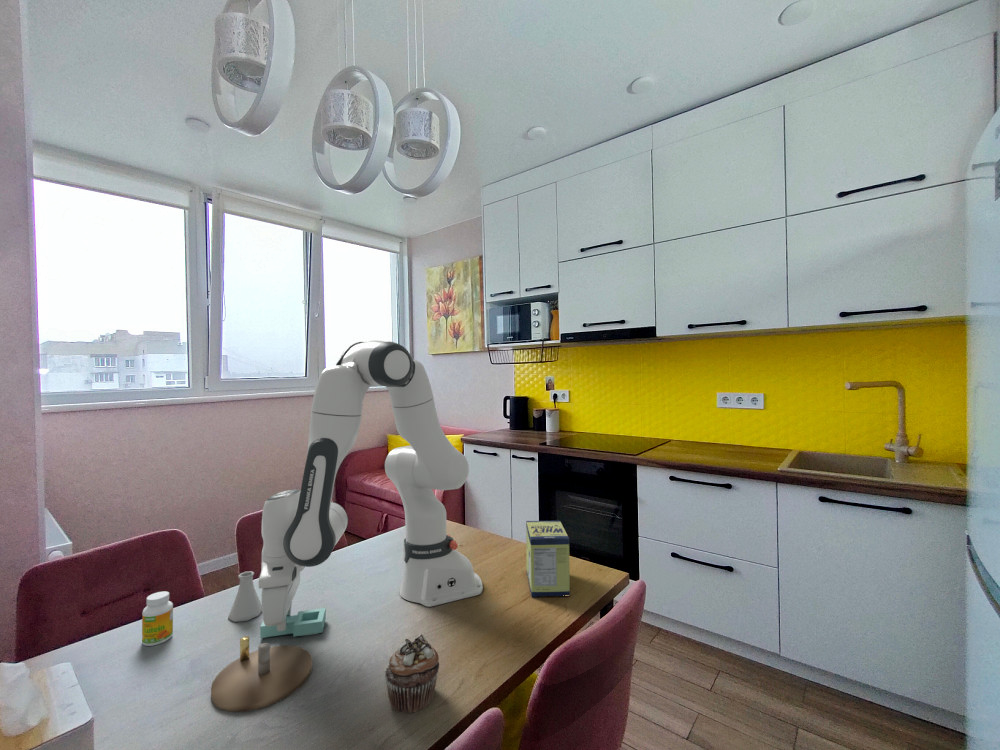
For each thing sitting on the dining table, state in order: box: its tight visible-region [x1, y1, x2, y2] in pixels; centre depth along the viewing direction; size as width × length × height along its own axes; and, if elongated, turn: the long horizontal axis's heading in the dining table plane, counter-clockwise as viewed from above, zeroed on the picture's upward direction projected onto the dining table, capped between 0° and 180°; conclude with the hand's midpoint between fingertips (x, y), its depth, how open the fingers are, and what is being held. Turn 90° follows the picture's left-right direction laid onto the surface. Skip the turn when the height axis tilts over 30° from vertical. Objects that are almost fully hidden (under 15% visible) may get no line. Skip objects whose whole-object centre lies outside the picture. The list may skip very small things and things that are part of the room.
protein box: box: [525, 520, 571, 598], centre depth 122 cm, size 10×16×16 cm
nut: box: [259, 607, 327, 639], centre depth 99 cm, size 13×6×2 cm, turn 105°
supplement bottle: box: [141, 590, 174, 647], centre depth 97 cm, size 5×5×10 cm
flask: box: [227, 570, 262, 623], centre depth 107 cm, size 7×7×10 cm
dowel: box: [239, 635, 250, 661], centre depth 88 cm, size 2×2×4 cm
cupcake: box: [384, 633, 440, 714], centre depth 79 cm, size 10×10×10 cm
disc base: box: [210, 642, 313, 713], centre depth 84 cm, size 17×17×6 cm
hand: (284, 623), depth 99 cm, fingers closed on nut, 3 cm apart
